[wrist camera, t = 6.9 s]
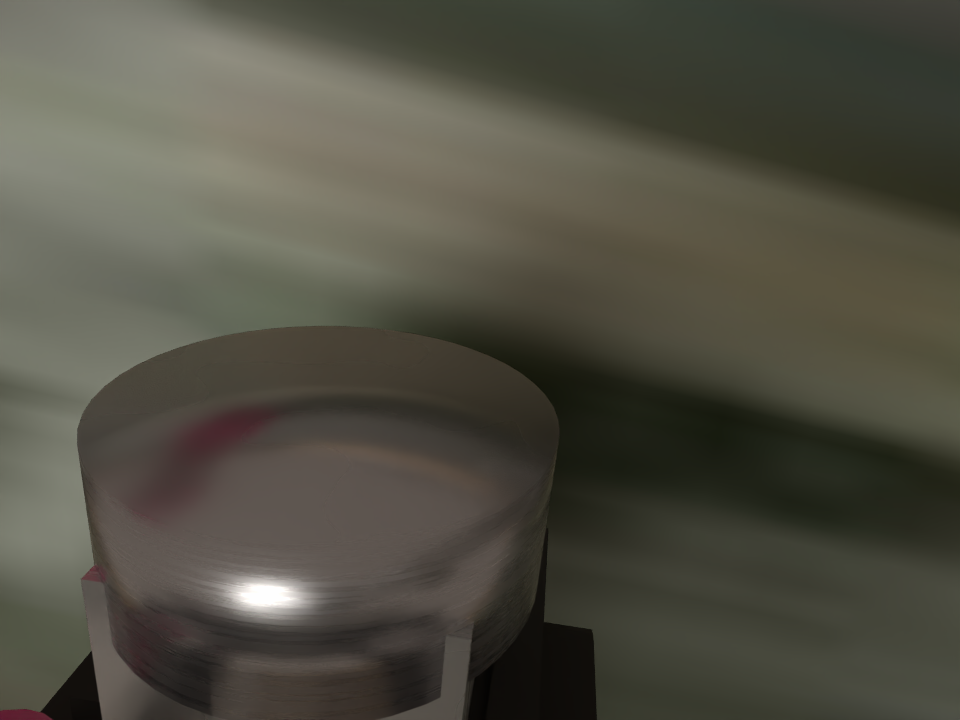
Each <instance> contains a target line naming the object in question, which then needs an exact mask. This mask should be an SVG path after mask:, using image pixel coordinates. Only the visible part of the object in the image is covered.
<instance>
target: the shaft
mask: <svg viewBox="0 0 960 720" xmlns="http://www.w3.org/2000/svg"><path fill="white" fill-rule="evenodd" d="M559 435H560V431H559V422H558V418H557V415H556V413H555V410H554V407H553V406H552V404H551V403H550V401H549V400H548V398H547V397H546V395H545V394H544V393H543V392H542V391H541V390H540V389H539V388H538V387H537V386H536V385H535V384H534V383H533V382H532V381H530V380H529V379H528V378H527V377H525V376H524V375H523V374H521V373H520V372H518V371H517V370H515V369H513V368H512V367H510V366H508V365H507V364H505V363H503V362H501V361H499V360H497V359H495V358H493V357H490V356H488V355H486V354H483V353H481V352H478V351H476V350H473V349H470V348H467V347H464V346H461V345H458V344H455V343H452V342H448V341H444V340H440V339H436V338H432V337H427V336H422V335H417V334H412V333H406V332H399V331H392V330H385V329H375V328H364V327H346V326H305V327H286V328H274V329H265V330H257V331H249V332H243V333H237V334H231V335H225V336H221V337H216V338H212V339H208V340H203V341H200V342H196V343H193V344H189V345H186V346H183V347H179V348H176V349H174V350H171V351H168V352H166V353H163V354H160V355H157V356H155V357H153V358H151V359H149V360H147V361H144V362H142V363H140V364H138V365H136V366H134V367H133V368H131V369H129V370H128V371H126V372H124V373H122V374H121V375H119V376H118V377H117V378H115V379H114V380H113V381H111V382H110V383H109V384H107V385H106V386H105V387H104V388H103V389H102V390H101V391H100V392H99V393H98V394H97V395H96V396H95V397H94V398H93V399H92V400H91V401H90V403H89V405H88V406H87V408H86V409H85V411H84V412H83V414H82V417H81V420H80V423H79V426H78V429H77V446H78V453H79V460H80V467H81V474H82V481H83V488H84V495H85V502H86V509H87V516H88V523H89V530H90V537H91V544H92V551H93V558H94V566H93V567H92V568H91V569H90V570H89V571H88V572H87V573H86V575H85V576H84V577H83V578H82V579H81V584H82V590H83V597H84V603H85V610H86V616H87V623H88V629H89V636H90V642H91V649H92V655H93V662H94V669H95V675H96V682H97V688H98V695H99V701H100V708H101V714H102V720H468V716H469V710H470V703H471V697H472V691H473V685H474V678H475V677H477V676H478V675H480V674H481V673H482V672H483V671H484V670H486V669H487V668H488V667H489V666H490V665H491V664H493V663H494V662H495V661H496V660H497V659H498V658H500V657H501V656H502V654H503V653H504V652H505V651H506V650H507V649H508V647H509V646H510V645H511V644H512V643H513V642H514V640H515V639H516V638H517V636H518V635H519V633H520V631H521V630H522V628H523V626H524V625H525V623H526V622H527V620H528V618H529V615H530V612H531V610H532V607H533V604H534V602H535V597H536V591H537V585H538V579H539V572H540V565H541V558H542V551H543V544H544V537H545V531H546V524H547V517H548V510H549V503H550V496H551V489H552V483H553V476H554V469H555V462H556V455H557V448H558V441H559Z"/></svg>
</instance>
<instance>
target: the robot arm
mask: <svg viewBox="0 0 960 720" xmlns="http://www.w3.org/2000/svg"><path fill="white" fill-rule="evenodd" d="M547 545H548V529H547V528H546V531H545V537H544V544H543V551H542V558H541V565H540V572H539V579H538V585H537V591H536V597H535V602H534V604H533V607H532V610H531V612H530V615H529V618H528V620H527V622H526V623H525V625H524V626H523V628H522V630H521V631H520V633H519V635H518V636H517V638H516V639H515V640H514V642H513V643H512V644H511V645H510V646H509V647H508V649H507V650H506V651H505V652H504V653H503V654H502V656H501V657H500V658H498V659H497V660H496V661H495V662H494V663H493V664H491V665H490V666H489V667H488V668H487V669H486V670H484V671H483V672H482V673H481V674H480V675H478V676H477V677H475V678H474V685H473V691H472V697H471V703H470V710H469V716H468V720H597V714H596V689H595V665H594V641H593V633H592V630H591V629H585V628H578V627H572V626H565V625H559V624H552V623H546V622H544V605H545V585H546V565H547ZM0 720H102V714H101V708H100V701H99V695H98V688H97V682H96V675H95V669H94V662H93V655H92V651H91V652H90V653H89V655H88V656H87V657H86V658H85V659H84V661H83V662H82V663H81V664H80V665H79V666H78V668H77V669H76V670H75V671H74V672H73V674H72V675H71V676H70V677H69V678H68V680H67V681H66V682H65V683H64V684H63V686H62V687H61V688H60V689H59V690H58V692H57V693H56V694H55V695H54V696H53V698H52V699H51V700H50V701H49V702H48V704H47V705H46V706H45V707H44V708H43V710H42V711H41V712H36V711H32V710H27V709H18V710H3V711H0Z"/></svg>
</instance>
